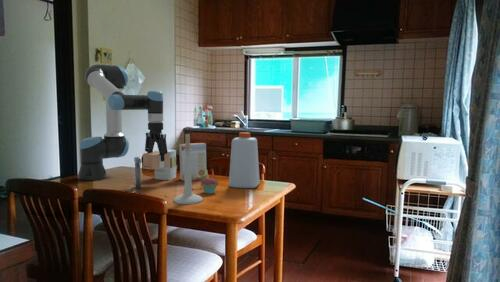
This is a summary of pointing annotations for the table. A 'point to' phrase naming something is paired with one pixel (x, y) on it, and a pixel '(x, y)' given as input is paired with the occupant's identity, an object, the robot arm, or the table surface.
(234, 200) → the table surface
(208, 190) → the cupcake
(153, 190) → the table surface
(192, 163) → the cracker box
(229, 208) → the table surface
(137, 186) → the t key
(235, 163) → the plastic bottle
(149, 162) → the tan rectangular block
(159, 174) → the supplement box
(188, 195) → the candlestick
